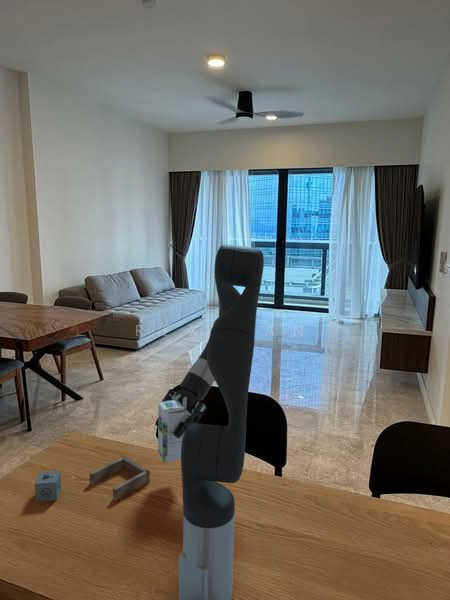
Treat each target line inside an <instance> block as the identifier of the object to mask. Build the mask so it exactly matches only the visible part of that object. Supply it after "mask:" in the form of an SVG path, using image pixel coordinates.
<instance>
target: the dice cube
mask: <svg viewBox="0 0 450 600" xmlns="http://www.w3.org/2000/svg"><path fill="white" fill-rule="evenodd" d="M61 476H62V475H61V470H51V471H41V472H39V473H38V475H37V478H36V481H35V483H34V492H35V493H34V494H35V503H43V502H53V501H54V502H55V501H58V499H59V496H60V493H61V490H62V478H61Z"/></svg>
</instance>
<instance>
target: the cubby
mask: <svg viewBox="0 0 450 600" xmlns="http://www.w3.org/2000/svg"><path fill="white" fill-rule="evenodd" d="M120 470H121V471H123V470H124V471H125V470H126V471H125V472H127V473H129V474H131V476H132V475H133V477H130V478H129V479H127V480H126V481H124V482H122V483H120V484H118V485H116V486H115V487H113V488H112V500H114V501H115V502H116V501H118V500H120V499H122V498H123V497H124V496H127V495H129V494H130V493H132V492H133V491H135V490H138V489H139V488H141V487H143V486H144V485H146V484H148V483H149V482H150V479H151V478H150V470H149V469H147V468H145V467H143V466H141V465H140V464H138V463H136V462H134V461H133V460H131V459H129V458H127V457H126V456H122V457H120V458H118V459H116V460H114V461H111V462H110V463H108V464H105V465H103V466H102V467H100V468H98V469H95V470H93V471H91V472H89V484H90V485H91V486H93V485H95V484H97V483H98V482H101V481H103V480H104V479H107V478H108V477H110V476H112V475H115V474H117V473H119V472H121V471H120ZM118 471H119V472H118ZM116 472H117V473H116ZM114 473H115V474H114Z"/></svg>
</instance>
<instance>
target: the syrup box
mask: <svg viewBox="0 0 450 600" xmlns="http://www.w3.org/2000/svg"><path fill="white" fill-rule="evenodd" d="M157 415H158V417H157V419H158V427H157V428H158V429H157V430H158V431H157V432H158V435H157V438H158V439H157V442H158V443H157V444H158V445H157V446H158V447H157V451H158V455H159V457H160V459H161V461H162V463H164V464H166V463H169V462H175V461H178V460H181V445H182V439H183V435H184V433H185V432H184V433H183V435H182V436H181V437H180V438H177V437H175V436H174V435H173V433H174V431H175V429H176V428H177V426H178V425H179V423H180V422H182V417H183V416H184V415H185V408H184V407H183V406H182V404H181V403H180V402H179V401H176V400H173V401H165V402H162V401H160V402H158V414H157Z"/></svg>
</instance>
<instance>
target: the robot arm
mask: <svg viewBox="0 0 450 600" xmlns="http://www.w3.org/2000/svg"><path fill="white" fill-rule="evenodd" d="M214 261H215V262H214V268H213V269H214V282H215V286H216V293H217V297H218V302H219V303H218V305H219V306H218V307H219V309H218V317H217V318H216V319H215V320H214V322H213V325H212V327H211V330H210V334H209V338H208V341H207V343H206V345H205V346H204V348H203V351H202V352H201V353H200V355H199V356H198V358H197V359H196V360H195V362H193V364H192V365H191V367H190V368H189V370H188V372H187V373H186V375H185V376H184V378H183V380H182V381H181V382H180V384H179V390H177V391H174V390H173V389H172V388H170V389H168V391H167V392H166V393H165V396H164V397H163V399H162V400H161V402H165V401H173V400H176V401H179V402H180V403H181V404H182V406H183V407H184V408H185V415H184V416H183V417H182V422H180V423H179V425H178V426H177V428H176V429H175V431H174V433H173V435H174V436H175V437H177V438H180V437H181V436H182V435H183V433H184V435H183V439H182V445H181V459H180V467H181V469H180V470H181V483H182V484H181V485H182V506H183V507H182V509H183V510H182V512H183V513H182V514H183V515H182V516H183V517H182V553H180V554H179V556H178V600H232V598H233V581H234V580H233V579H234V578H233V576H234V543H235V542H234V541H235V539H234V538H235V533H234V532H235V510H236V509H235V505H236V504H235V497H234V494H233V492H232V491H231V490H230V489H229V488H228V487H226V486H225V485H223V484H221V483H227V484H235V483H237V482H238V481H239V480H240V479H241V476H242V474H243V469H244V463H245V455H246V454H245V453H246V440H247V439H246V436H247V435H246V434H247V416H248V415H247V414H248V401H249V400H248V399H249V397H248V396H249V388H250V380H251V374H252V366H253V358H254V350H255V341H256V340H255V339H256V338H255V337H256V323H257V322H256V321H257V310H258V304H259V296H260V290H261V286H262V279H263V273H264V265H265V257H264V252H263V251H262V250H261V249H259V248H256V247H251V246H245V245H244V246H243V245H235V244H234V245H233V244H223V245H220V247H219V248H218V250H217V251H216V255H215V260H214ZM236 287H242V288H244V289H243V291H242V293H240V292H239V291H238V290H237V288H236ZM214 383H216V385H217V387H218V388H219V390H220V391H219V392H220V393H221V395H222V397H223V402H224V403H225V406H226V409H227V413H228V414H227V415H228V425H219V424H218V425H217V424H216V425H215V424H205V423H199V422H200V421H201V420H200V419H201V418H202V417H203V415H204V414H205V412H206V411H207V409H208V408H207V407H208V406H206V405H205V403H203V402H201V401H203V400H204V399H205V397H206V396H207V394H208V392H209V391H210V389H211V388H212V386H213V384H214ZM154 424H155V426H156V427H157V428H158V418H157V419H156V420H155V423H154Z"/></svg>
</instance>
